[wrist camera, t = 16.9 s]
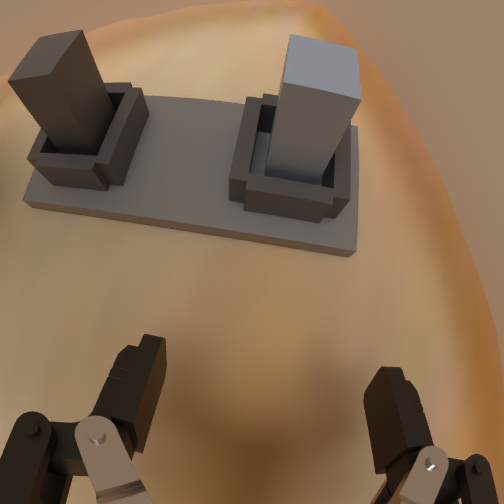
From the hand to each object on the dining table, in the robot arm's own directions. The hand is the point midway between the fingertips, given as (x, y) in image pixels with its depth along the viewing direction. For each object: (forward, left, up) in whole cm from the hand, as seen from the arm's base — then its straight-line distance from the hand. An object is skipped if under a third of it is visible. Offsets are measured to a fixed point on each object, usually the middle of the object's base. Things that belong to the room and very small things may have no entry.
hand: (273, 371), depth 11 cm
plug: (0, +12, -7) cm, 14 cm away
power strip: (-7, +12, -8) cm, 16 cm away
